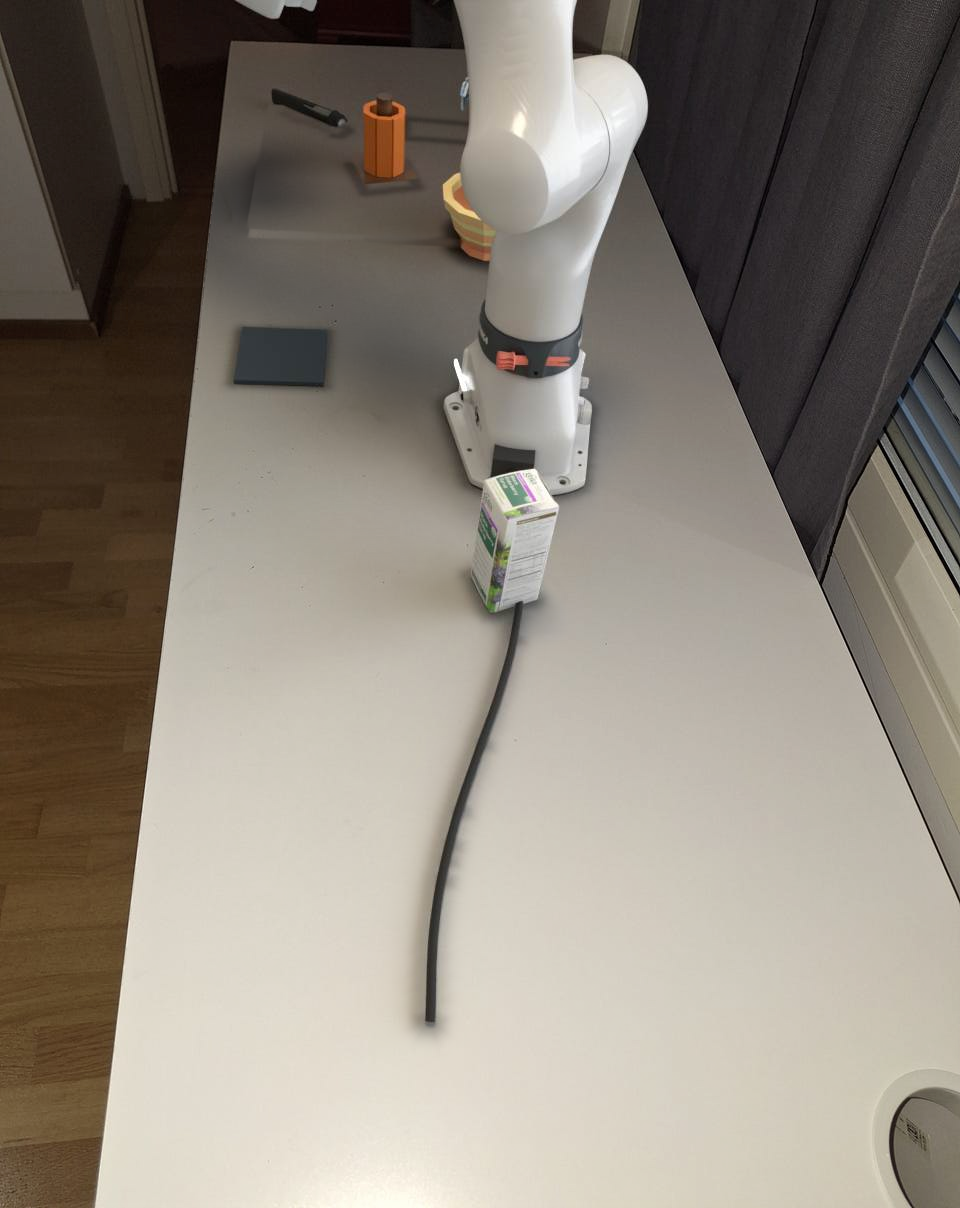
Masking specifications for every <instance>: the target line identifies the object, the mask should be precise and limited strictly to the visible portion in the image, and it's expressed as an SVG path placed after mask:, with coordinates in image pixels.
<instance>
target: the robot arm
mask: <svg viewBox="0 0 960 1208" xmlns="http://www.w3.org/2000/svg"><path fill="white" fill-rule="evenodd" d="M235 1H236V2H237V3H239V4H241V5H242V6H244V7H246V8H247V9H250V10H252V11H253V12H255V13H257V14H259V15H261V16H263V17H265V18H268V19H271V20H275V19H277V20H278V19H279V18H280V17H281V14H282V12H283V9H284V6H285V7H287V8H288V7H289V8H291V7H292V8H303V9H305V10H307V11H309V12H313V11H315V8H316V5H317V3H318V1H317V0H235ZM577 2H578V0H453V3H454V6H455V10H456V14H457V16H458V20H459V25H460V30H461V33H462V39H463V44H464V45H463V46H464V53H465V60H466V72H467V73H466V74H467V77H468V87H469V99H468V102H469V103H468V105H469V106H468V109H469V110H468V129H467V137H466V141H465V144H464V149H463V152H462V155H461V159H460V167H459V173H460V177H461V184H462V188H463V192H464V194H465V197H466V199H467V201H468V203H469V205H470V207H471V208H472V210H473V211H474V213H475V214H476V215H477V216H478V217H479V218H480V219H481V220H482V221H483V222H484V223H485V224H486V225H488V226H489V227H491V228H493V229H494V230H497V231H496V234H495V236H494V239H493V242H492V246H491V253H490V261H488V263H489V264H488V271H487V272H488V273H487V282H486V293H485V299H484V300H483V302H482V303H481V307H480V312H479V314H478V320H477V326H478V330H477V336H476V338H475V339H474V340H473V341H472V342H471V343H470V344H469V345H467V347H466V348H464V350H463V354H462V360H461V361H462V362H461V367H460V363H459V361H458V358H454V360H453V365H454V368H455V372H456V376H457V378H458V380H459V384H458V390H457V391H455V392H452V393H451V394H448V395H447V396H446V397H445V398H444V400H443V404H442V405H443V406H442V408H443V410H444V413H445V416H446V420H447V422H448V425H449V428H450V430H451V433H452V436H453V439H454V442H455V445H456V448H457V450H458V453H459V456H460V459H461V462H462V465H463V468H464V471H465V474H466V477H467V478H468V481H469V483H470V484H472V485H473V486H476V487H477V488H479V489H482V490H483V486H484V480H486V479H489V478H492V477H496V476H499V475H503V474H507V473H511V472H517V471H522V470H529V469H536V470H537V472H538V474H539V475H540V477H541V479H542V480H543V481H544V483H545V484H546V486H547V488H548V489H549V491H550V493H551V495H552V496H555V495H557V496H558V495H562V494H567V493H571V492H573V491H576V490H578V489H580V488H582V487H584V486H585V485H586V484H585V483H586V478H587V466H588V457H589V455H588V454H589V445H590V444H589V443H590V432H591V419H592V412H593V406H592V402H590V401H589V400H588V399H587V398H585V397H584V396H580V392H581V389H582V390H588V387H589V382H590V377H589V376H588V377H587V376H583V374H582V372H583V367H584V363H585V359H586V352H585V351H584V350H583V349H582V348H581V345H582V340H583V333H584V332H583V331H584V330H583V329H584V328H583V326H584V325H583V324H584V317H583V307H584V303H585V297H586V293H587V287H588V285H589V279H590V274H591V269H592V266H593V262H594V259H595V255H596V252H597V248H598V246H599V243H600V241H601V238H602V235H603V233H604V230H605V228H606V225H607V223H608V220H609V217H610V214H611V212H612V210H613V206H614V204H615V201H616V198H617V195H618V193H619V190H620V186H621V184H622V181H623V178H624V174H625V171H626V169H627V166H628V164H629V161H630V158H631V155H632V153H633V151H634V149H635V146H636V145H637V142H638V140H639V138H640V136H641V135H642V132H643V130H644V128H645V125H646V122H647V119H648V112H649V111H648V110H649V103H648V96H647V92H646V88H645V85H644V83H643V80H642V79H641V76H640V74H639V73H638V72H637V71H636V70H635V68H633V66H632V65H631V64H630V63H629V62H627V61H625V60H624V59H623V58H620V57H618V56H616V55H612V54H595V55H589V56H588V55H587V56H583V57H579V58H575V59H574V52H573V51H574V50H573V28H574V27H573V26H574V17H575V10H576V5H577ZM523 607H524V604H523V601H519V602H517V603H516V605H515V607H514V612H513V618H512V623H511V624H512V625H511V630H510V635H509V639H508V640H509V641H508V645H507V650H506V654H505V658H504V662H503V665H502V669H501V673H500V675H499V678H498V682H497V685H496V688H495V691H494V694H493V698H492V701H491V703H490V706H489V710H488V711H487V715H486V717H485V720H484V724H483V726H482V728H481V730H480V734H479V737H478V739H477V742H476V746H475V748H474V751H473V753H472V756H471V758H470V762H469V765H468V768H467V771H466V774H465V776H464V779H463V782H462V785H461V787H460V791H459V793H458V797H457V798H456V799H457V800H456V803H455V806H454V809H453V812H452V815H451V819H450V822H449V826H448V829H447V833H446V837H445V841H444V846H443V849H442V853H441V857H440V861H439V866H438V871H437V875H436V880H435V886H434V892H433V898H432V904H431V911H430V919H429V926H428V937H427V953H426V977H425V978H426V981H425V1016H424V1019H425V1020H424V1021H425V1022H427V1023H434V1022H436V1011H437V971H438V970H437V968H438V967H437V965H438V964H437V963H438V944H439V932H440V930H439V929H440V921H441V912H442V905H443V899H444V893H445V892H444V891H445V886H446V881H447V875H448V871H449V866H450V862H451V858H452V853H453V849H454V844H455V840H456V836H457V833H458V829H459V826H460V822H461V819H462V815H463V811H464V808H465V805H466V802H467V800H468V796H469V794H470V790H471V788H472V784H473V781H474V778H475V776H476V773H477V770H478V767H479V764H480V761H481V759H482V755H483V752H484V749H485V746H486V744H487V741H488V738H489V735H490V732H491V730H492V727H493V725H494V722H495V719H496V716H497V713H498V710H499V707H500V705H501V701H502V698H503V695H504V692H505V688H506V686H507V681H508V678H509V675H510V672H511V669H512V664H513V662H514V661H513V660H514V658H515V654H516V649H517V644H518V638H519V634H520V628H521V627H520V626H521V621H522V614H523Z"/></svg>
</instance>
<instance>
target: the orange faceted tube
mask: <svg viewBox="0 0 960 1208" xmlns="http://www.w3.org/2000/svg"><path fill="white" fill-rule="evenodd" d="M362 107H363V108H362V109H363V111H362V115H363V117H362V119H363V123H362V124H363V126H362V127H363V156H364V170H365V171H366V172H368V173H370V174H371V175H373V176H377V177H387V178H391V176H392V177H395V176H397V175H400V174H402V173H403V172H404V156H405V149H406V147H405V146H406V145H405V144H406V143H405V141H406V107H405V106H403V105H401V104H399V103H398V102H396V101H392V116H391V117H385V116H377V111H376V100H372V101H368V102H366V103H364V105H363V106H362Z"/></svg>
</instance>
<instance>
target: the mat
mask: <svg viewBox="0 0 960 1208" xmlns="http://www.w3.org/2000/svg"><path fill="white" fill-rule="evenodd" d="M327 336H328V330H327V329H318V328H317V329H316V328H293V327H292V328H291V327H290V328H289V327H288V328H287V327H285V328H284V327H263V326H262V327H259V326H242V327H241V333H240V338H239V344H238V350H237V351H238V352H237V357H236V358H237V359H236V363H235V368H234V369H235V371H234V376H233V383H234V384H235V385H236V384H238V385H274V386H278V385H279V386H308V387H324V381H325V366H326V354H327V353H326V351H327Z"/></svg>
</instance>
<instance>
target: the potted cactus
mask: <svg viewBox="0 0 960 1208" xmlns="http://www.w3.org/2000/svg"><path fill="white" fill-rule="evenodd" d="M464 80H465V81H463V82H462V85H461V88H460V93H459V96H460V111H462V112H463V111H464V110H465V108H466V105H467V101H469V87H468V76H466V77H465V78H464ZM442 196H443V204H444V209H445V210H446V211H447V212H448V213H449V214H450V218H451V222H452V225H453V228H454V231H456V233H457V235H458V236H459V237H460V239H459V240H460V248H461V250H463V251H464V252H465V254H467V255H468V256H469V257H471V258H474V259H478V260H481V261H482V262H484V261H485V262H490V253H491V246H492V242H493V239H494V236H495V234H496V231H497V230H494V229H493V228H491V227H489V226H488V225H486V224H485V223H484V222H483V221H482V220H481V219H480V218H479V217H478V216H477V215H476V214H475V213H474V211H473V210H472V208H471V207H470V205H469V203H468V201H467V199H466V197H465V194H464V192H463V188H462V184H461V177H460V172H457V173H455V174H453V175H452V176H451V177H450V178H448V180H446V181H445V182H444V183H443V184H442Z"/></svg>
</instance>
